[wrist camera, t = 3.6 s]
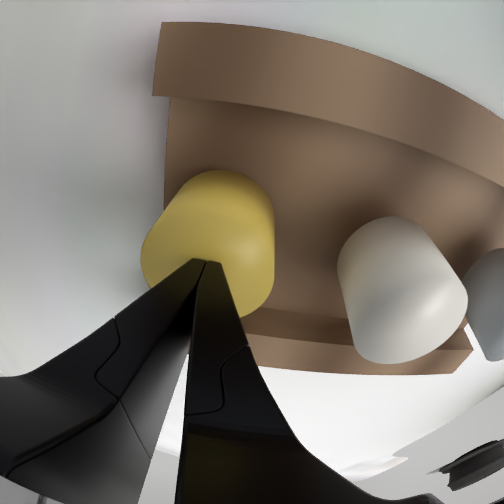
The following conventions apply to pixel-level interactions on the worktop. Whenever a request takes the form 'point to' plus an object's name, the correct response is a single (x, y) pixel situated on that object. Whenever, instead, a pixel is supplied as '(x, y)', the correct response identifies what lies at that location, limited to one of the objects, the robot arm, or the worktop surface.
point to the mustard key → (217, 235)
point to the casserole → (475, 465)
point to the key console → (330, 171)
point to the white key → (398, 291)
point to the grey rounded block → (487, 302)
